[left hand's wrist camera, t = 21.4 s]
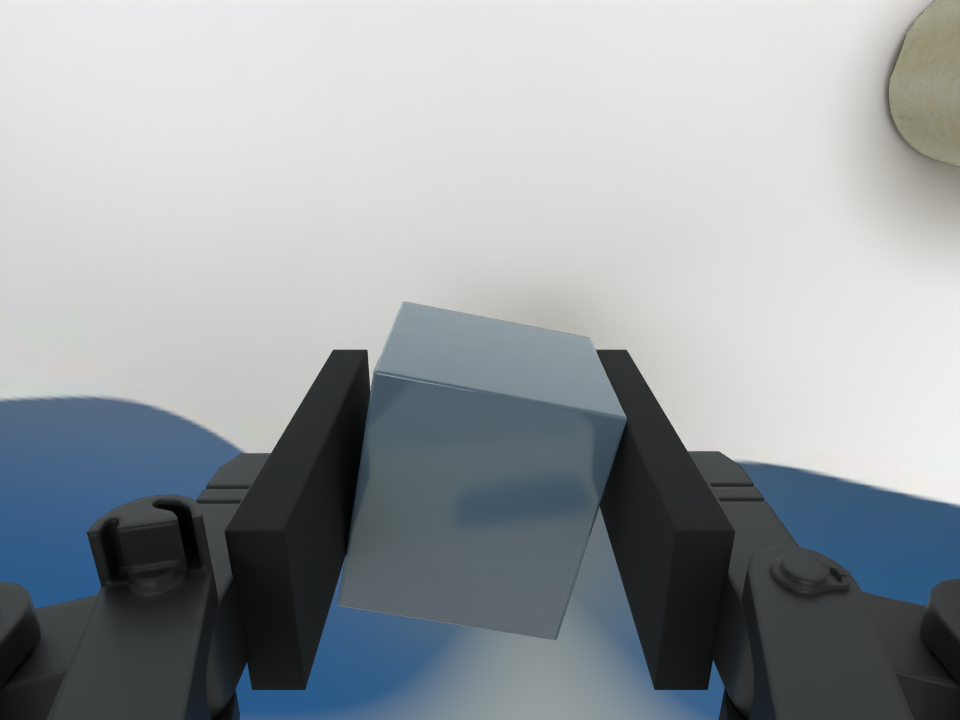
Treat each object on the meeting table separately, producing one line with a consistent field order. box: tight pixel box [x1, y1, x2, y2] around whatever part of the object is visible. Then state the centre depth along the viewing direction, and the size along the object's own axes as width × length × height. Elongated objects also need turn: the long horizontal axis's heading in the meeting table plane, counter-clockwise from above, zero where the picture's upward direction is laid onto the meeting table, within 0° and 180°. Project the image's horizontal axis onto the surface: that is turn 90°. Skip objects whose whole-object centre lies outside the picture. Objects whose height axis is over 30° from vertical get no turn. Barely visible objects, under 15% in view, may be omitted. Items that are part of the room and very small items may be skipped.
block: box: [338, 302, 627, 640], centre depth 13 cm, size 5×4×4 cm
